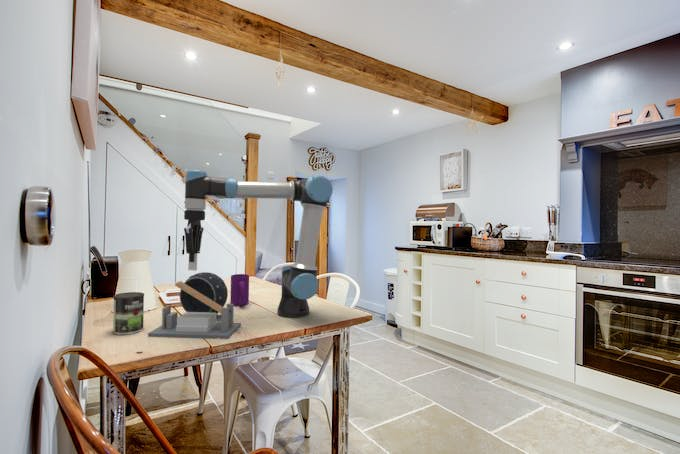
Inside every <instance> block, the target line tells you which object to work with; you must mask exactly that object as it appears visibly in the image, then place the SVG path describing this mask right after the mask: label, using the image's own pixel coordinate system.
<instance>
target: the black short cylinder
mask: <svg viewBox="0 0 680 454" xmlns="http://www.w3.org/2000/svg"><path fill="white" fill-rule="evenodd" d="M184 283H185V284H186V285H188V286H190V287H191V288H193V289H194V290H196V291H198V292H199V293H201V294H203V295H204V296H206V297H208V298H209V299H211V300H212V301H214V302H216V303H217V304H219V305H221V306H222V307H224V308H225V305H226V303H227V300H228V293H229V292H228V291H229V290H228V287H227V285H226V283H225V280H224V279H223V278H222V277H220V276H219V275H218V274H215V273H212V272H207V271H206V272H205V271H203V272H198V273H195V274H193V275H190V276H189V277H188V278H187V279H186V280H185V282H184ZM179 292H180V293H179V302H180V305H181V307H182V308H183V310H184V312H185V313H186V312H208V313H216V314H218V313H219V312H218V311H216V310H214V309H213V308H211V307H210V306H208V305H206V304H205V303H203V302H201V301H200V300H198V299H196V298H195V297H193V296H192V295H190V294H188V293H187V292H185V291H183V290H182V289H180V290H179Z"/></svg>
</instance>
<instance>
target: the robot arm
mask: <svg viewBox="0 0 680 454" xmlns="http://www.w3.org/2000/svg"><path fill="white" fill-rule="evenodd" d="M207 174H208V173H207V171H205V170H199V169H188V170H187V171H186V173H185V186H184V187H185V190H184V191H185V193H184V201H183V203H184V209H185V210H184V214H183V215H184V217H183V218H184V220H185V221H187V224H186V225H187V226H186V227H184V228H183V231H184V237H185V240H184V241H185V251H186V253H185V254H188V269H187V270H188V271H198V270H197V269H198V254H200V253H201V247H202V238H203V232H204V227H202V223H201V221H205V220H206V211H205V210H206V208H207V207H206V203H207V200H206V197H207V196H208V197H215V198H217V199H220V200H221V199H280V200H281V199H289V200H290V201H291V202H295V201H296V202H300V205H301V207H302V208H303V211H302V216H301V217H302V218H301V224H300V229H299V237H298V242H297V243H298V244H297V249H296V250H297V251H296V257H295V262H294V263H293V264H291V265H283V267H282V268H281V298H280V300H279V303H278V307H277V313H276V314H277V315H278V316H280V317H283V318H292V319H293V318H302V317H306V316H308V315H309V314H310V306H309V302H308V300H309V299H311V298H313V297H314V296H315V295H316V294H317V292H318V290H319V285H320V284H319V281H318V278H317V276H318V270H319V269H318V267H317V266H316V261H317V259H316V258H317V253H318V252H317V251H318V245H319V238H320V233H321V225H322V218H323V213H324V211H325V210H326V209H328V208H327V207H328V200H329V199H330V198H331V197H332V195H333V185H332V183H331V181H330V180H329V178H328V177H326V176H324V175H320V174H318V175H317V174H314V175H311V176H310V177H309V176H308V177H306V178H302V179H297V180H295V179H294V180H293V179H291V180H290V181H289V182H288V181H287V182H286V181H285V182H284V181H280V182H279V181H248V180H247V181H242V180H241V181H240V180H237V178H236V179H234V178H231V177H228V178H227V177H217V176H216V177H215V176H208V175H207Z"/></svg>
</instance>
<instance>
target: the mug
mask: <svg viewBox="0 0 680 454" xmlns="http://www.w3.org/2000/svg"><path fill="white" fill-rule="evenodd" d="M249 293H250V275H249V274H245V273H244V274H242V273H238V274H237V273H236V274H232V275H230V303H229V304H234V307H242V306H244V307H245V306H247V305H248V304H249V299H250V294H249Z"/></svg>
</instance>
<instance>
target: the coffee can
mask: <svg viewBox="0 0 680 454" xmlns="http://www.w3.org/2000/svg"><path fill="white" fill-rule="evenodd" d="M144 299H145V293H144V292H139V291H138V292H136V291H130V292H120V293H117V294H114V295H113V317H112V318H113V321H112V322H113V327H112V328H113V329H112V333H113V334H114V335H119V336H120V335H123V336H124V335H132V334H136V333H140V332H142V331H143V330H144V312H145V311H144V305H145V302H144V301H145V300H144Z"/></svg>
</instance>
